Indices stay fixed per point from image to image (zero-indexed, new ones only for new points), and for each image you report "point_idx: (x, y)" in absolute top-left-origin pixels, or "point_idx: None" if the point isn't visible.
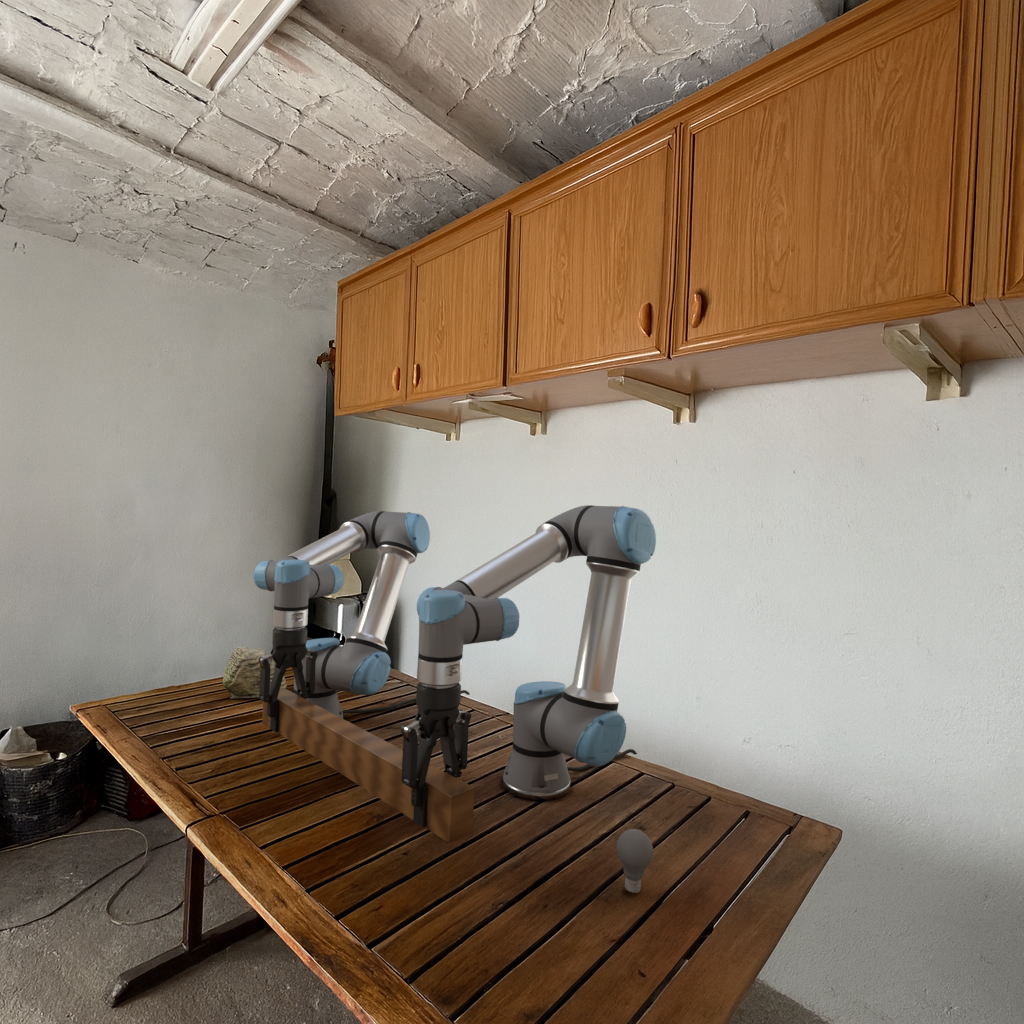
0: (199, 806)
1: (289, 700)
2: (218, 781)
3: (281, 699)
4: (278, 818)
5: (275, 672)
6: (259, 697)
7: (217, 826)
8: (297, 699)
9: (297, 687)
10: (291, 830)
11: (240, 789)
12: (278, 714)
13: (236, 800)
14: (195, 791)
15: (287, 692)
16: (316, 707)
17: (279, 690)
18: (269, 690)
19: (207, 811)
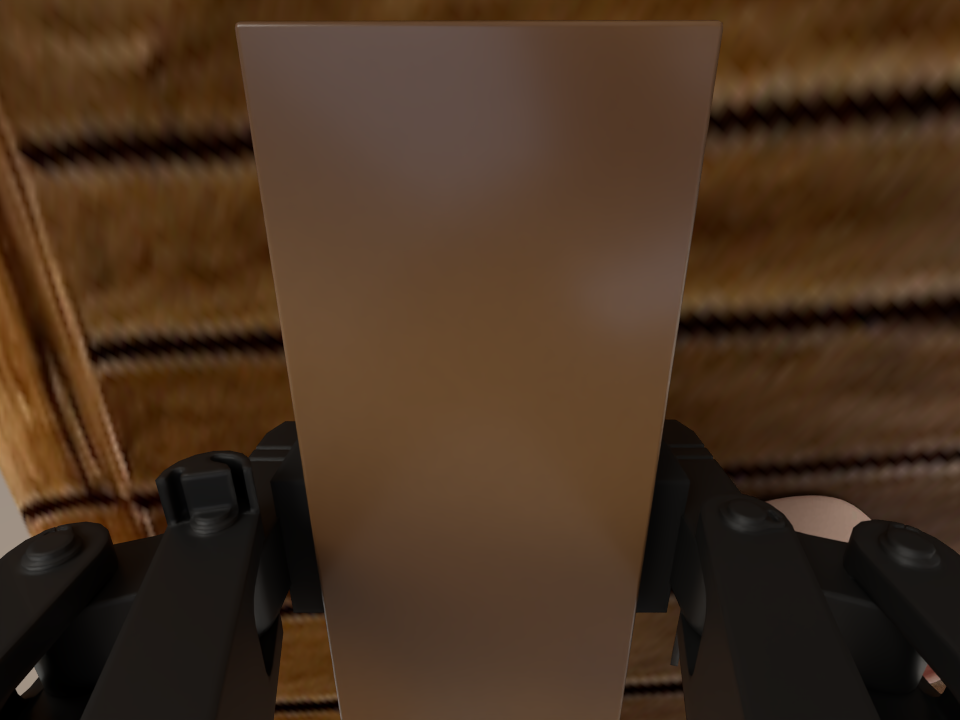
0: (64, 410)
1: (433, 696)
2: (163, 229)
3: (363, 619)
4: (297, 625)
5: None
6: (9, 568)
7: None
8: (534, 709)
9: (711, 626)
10: (307, 691)
11: (238, 371)
12: None
13: (203, 448)
14: (53, 268)
15: (596, 391)
16: None
17: (544, 189)
18: (125, 646)
19: (90, 463)
